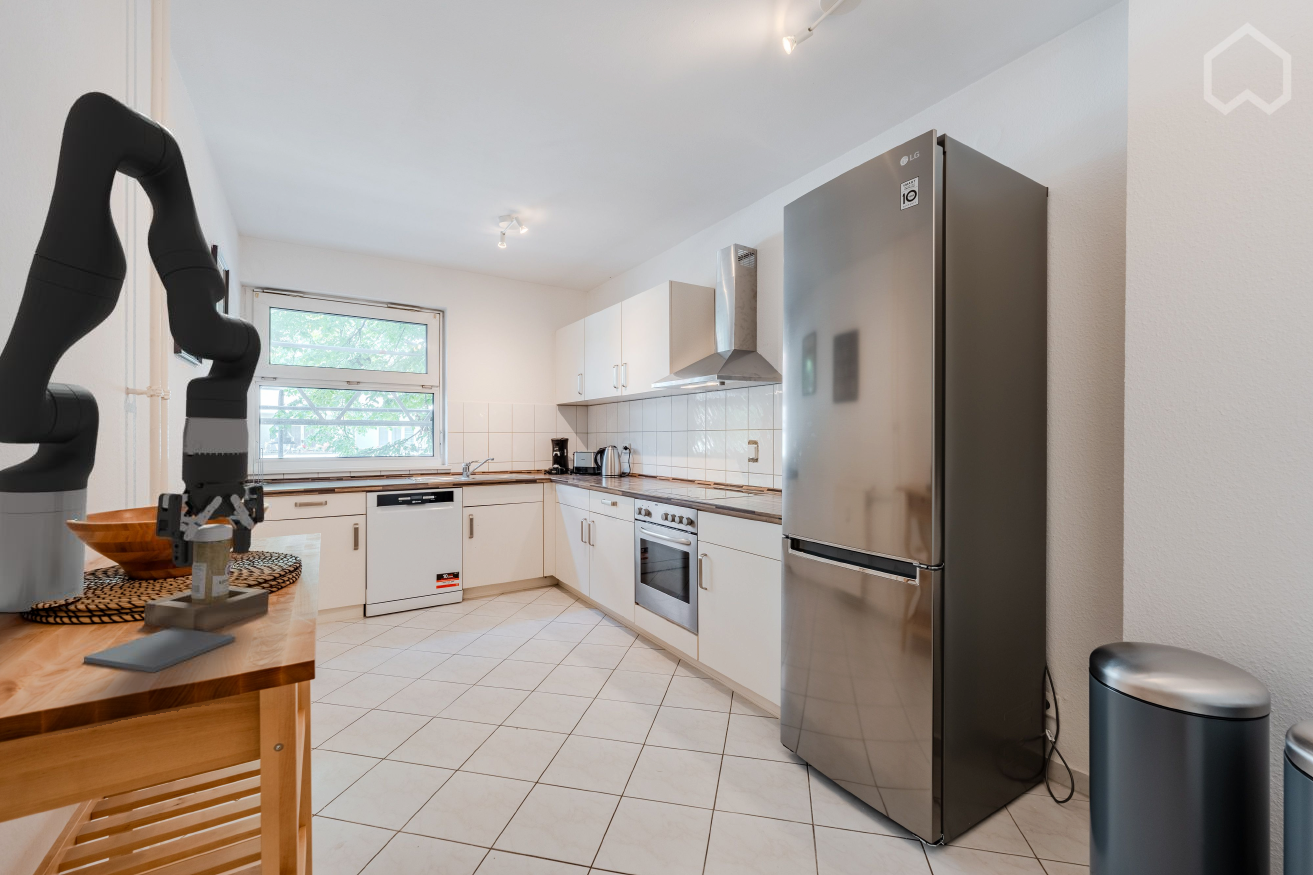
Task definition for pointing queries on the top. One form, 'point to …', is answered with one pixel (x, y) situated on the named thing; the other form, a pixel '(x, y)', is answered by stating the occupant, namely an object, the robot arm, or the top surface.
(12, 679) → the top surface
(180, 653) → the slate mat
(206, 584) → the sprinkles bottle
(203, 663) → the top surface
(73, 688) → the top surface
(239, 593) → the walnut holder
